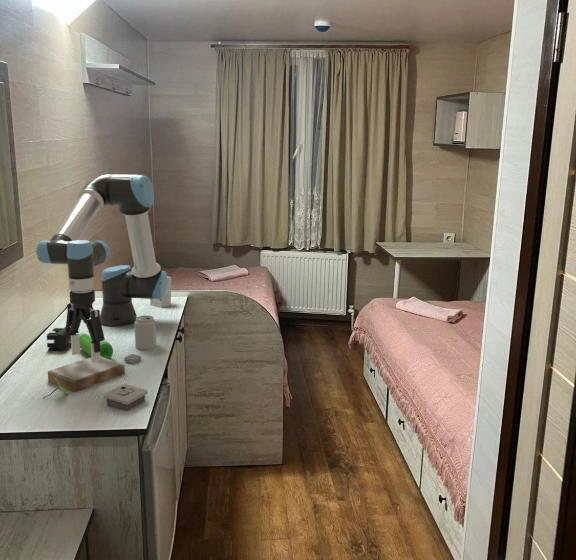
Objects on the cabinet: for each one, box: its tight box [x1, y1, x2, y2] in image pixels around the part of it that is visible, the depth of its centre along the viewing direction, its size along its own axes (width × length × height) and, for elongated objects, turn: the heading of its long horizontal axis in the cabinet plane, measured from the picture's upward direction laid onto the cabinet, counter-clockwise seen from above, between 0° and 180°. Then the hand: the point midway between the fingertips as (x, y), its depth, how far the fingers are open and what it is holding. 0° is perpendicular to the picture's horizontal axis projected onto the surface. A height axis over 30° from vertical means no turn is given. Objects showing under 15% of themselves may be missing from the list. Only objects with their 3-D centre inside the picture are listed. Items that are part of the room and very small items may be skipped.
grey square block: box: [124, 353, 142, 365], centre depth 215 cm, size 4×4×2 cm
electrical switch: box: [103, 383, 149, 412], centre depth 181 cm, size 9×5×9 cm
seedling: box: [42, 377, 70, 399], centre depth 186 cm, size 7×8×7 cm
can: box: [133, 315, 157, 351], centre depth 228 cm, size 8×8×12 cm
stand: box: [47, 356, 126, 394], centre depth 200 cm, size 19×14×4 cm
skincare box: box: [149, 275, 172, 309], centre depth 282 cm, size 8×6×15 cm
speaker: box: [79, 330, 114, 360], centre depth 221 cm, size 18×7×8 cm, turn 38°
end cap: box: [46, 326, 71, 352], centre depth 229 cm, size 10×7×7 cm
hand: (86, 357), depth 199 cm, fingers open, 10 cm apart
